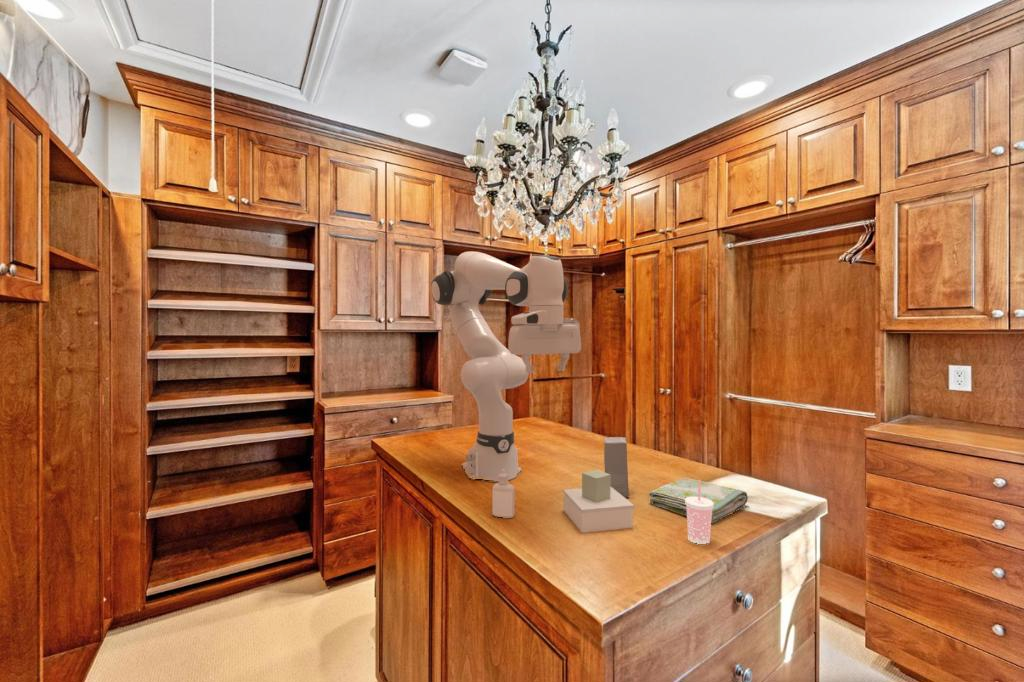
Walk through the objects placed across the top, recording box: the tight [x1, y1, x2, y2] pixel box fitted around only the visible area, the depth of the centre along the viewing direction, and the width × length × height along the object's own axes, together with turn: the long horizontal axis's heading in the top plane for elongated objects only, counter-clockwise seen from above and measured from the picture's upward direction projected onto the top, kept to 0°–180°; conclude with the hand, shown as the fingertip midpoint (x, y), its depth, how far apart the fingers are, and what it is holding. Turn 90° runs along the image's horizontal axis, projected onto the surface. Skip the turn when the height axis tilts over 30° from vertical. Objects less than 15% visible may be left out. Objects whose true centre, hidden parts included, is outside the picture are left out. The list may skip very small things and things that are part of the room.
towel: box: [647, 477, 749, 524], centre depth 123 cm, size 18×21×5 cm
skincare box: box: [603, 436, 630, 499], centre depth 132 cm, size 8×7×16 cm
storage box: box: [562, 487, 635, 534], centre depth 114 cm, size 13×13×6 cm
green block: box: [581, 469, 611, 503], centre depth 113 cm, size 5×5×6 cm
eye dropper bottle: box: [491, 469, 516, 519], centre depth 115 cm, size 4×6×12 cm
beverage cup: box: [685, 478, 714, 545], centre depth 102 cm, size 6×6×14 cm
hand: (545, 371), depth 115 cm, fingers open, 8 cm apart
